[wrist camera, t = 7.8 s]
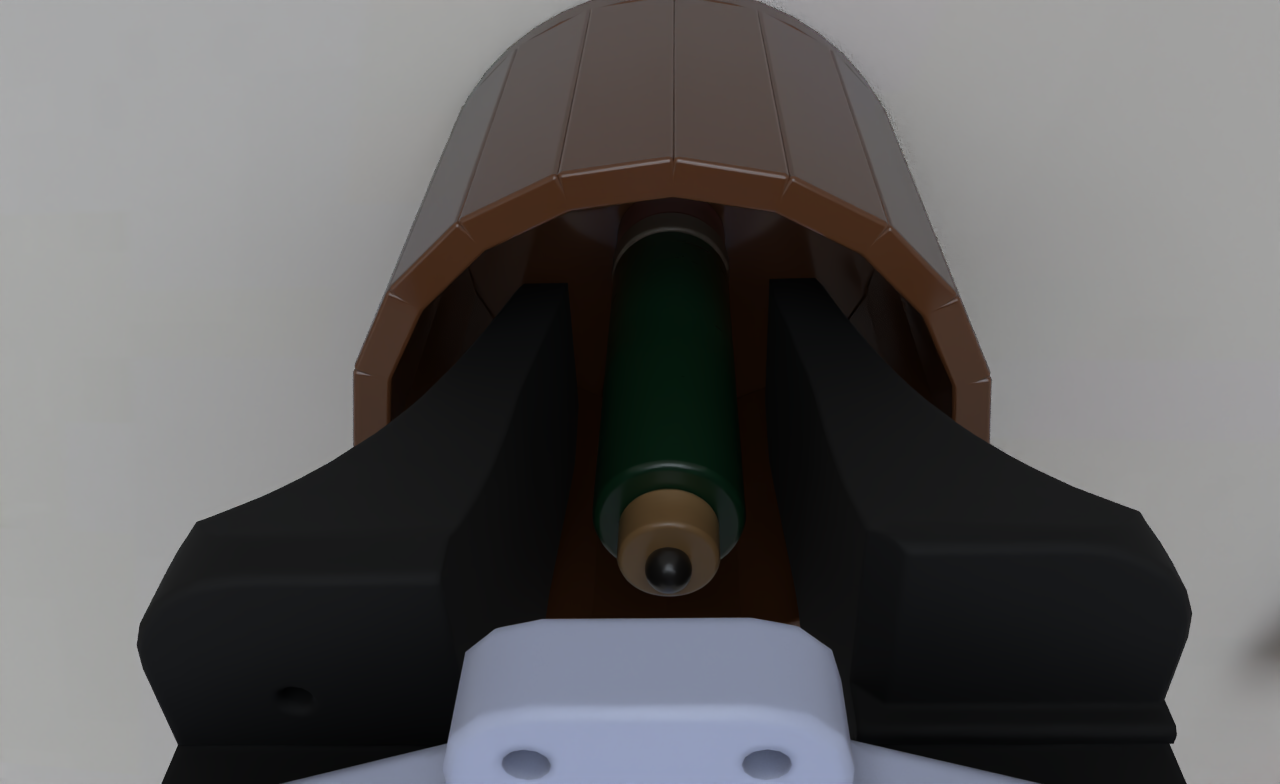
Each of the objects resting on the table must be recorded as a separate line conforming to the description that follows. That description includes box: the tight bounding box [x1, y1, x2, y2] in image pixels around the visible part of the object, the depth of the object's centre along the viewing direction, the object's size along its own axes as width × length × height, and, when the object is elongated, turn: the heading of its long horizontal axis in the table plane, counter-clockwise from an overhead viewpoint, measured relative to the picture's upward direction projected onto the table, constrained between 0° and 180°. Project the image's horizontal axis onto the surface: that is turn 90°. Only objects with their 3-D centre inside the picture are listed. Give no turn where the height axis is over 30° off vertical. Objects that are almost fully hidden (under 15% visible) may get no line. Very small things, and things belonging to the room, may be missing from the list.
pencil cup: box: [353, 0, 992, 627], centre depth 16 cm, size 8×8×6 cm
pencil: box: [592, 197, 746, 596], centre depth 14 cm, size 2×2×8 cm
